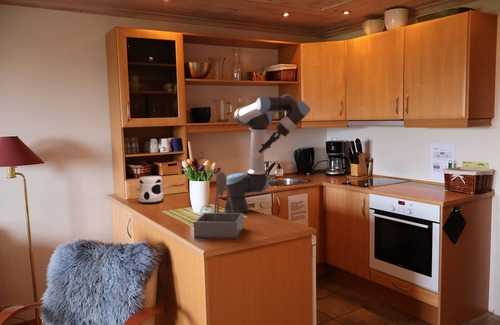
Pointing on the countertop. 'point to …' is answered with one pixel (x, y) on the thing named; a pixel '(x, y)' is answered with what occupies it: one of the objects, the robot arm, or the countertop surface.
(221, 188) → the citrus juicer
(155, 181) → the milk container
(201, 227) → the gray open bin
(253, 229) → the countertop surface
